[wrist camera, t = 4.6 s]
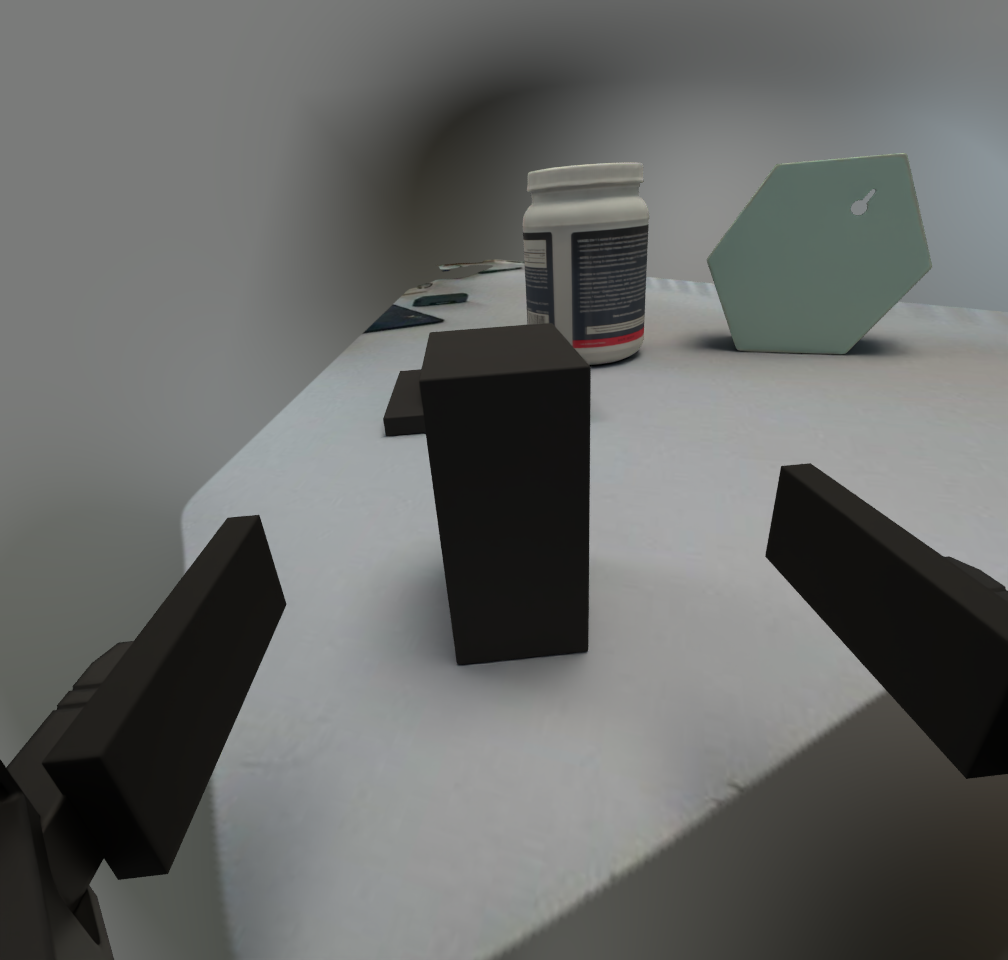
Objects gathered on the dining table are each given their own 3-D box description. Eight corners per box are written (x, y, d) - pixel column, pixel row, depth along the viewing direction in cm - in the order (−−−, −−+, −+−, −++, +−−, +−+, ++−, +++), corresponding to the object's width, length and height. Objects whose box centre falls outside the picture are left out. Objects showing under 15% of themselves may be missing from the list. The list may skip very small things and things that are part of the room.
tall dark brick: (457, 665, 20) (418, 379, 16) (456, 559, 27) (429, 332, 22) (588, 651, 21) (591, 365, 16) (557, 549, 27) (552, 322, 22)
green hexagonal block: (800, 376, 64) (965, 206, 52) (803, 396, 58) (992, 208, 46) (682, 294, 66) (816, 110, 54) (672, 305, 59) (823, 99, 47)
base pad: (385, 436, 42) (377, 386, 41) (402, 385, 55) (396, 345, 53) (588, 418, 43) (589, 369, 41) (558, 372, 56) (558, 332, 54)
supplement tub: (651, 342, 65) (661, 164, 56) (630, 371, 54) (639, 158, 46) (548, 340, 69) (544, 175, 61) (510, 366, 59) (499, 172, 51)
